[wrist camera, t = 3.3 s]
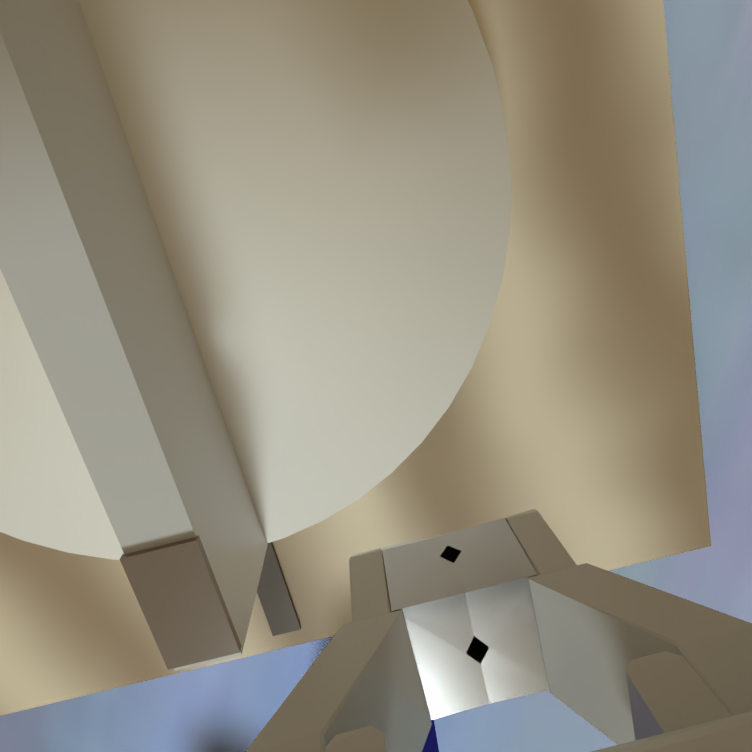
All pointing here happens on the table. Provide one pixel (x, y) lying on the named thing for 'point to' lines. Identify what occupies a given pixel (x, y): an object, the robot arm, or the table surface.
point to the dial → (233, 275)
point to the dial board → (482, 374)
